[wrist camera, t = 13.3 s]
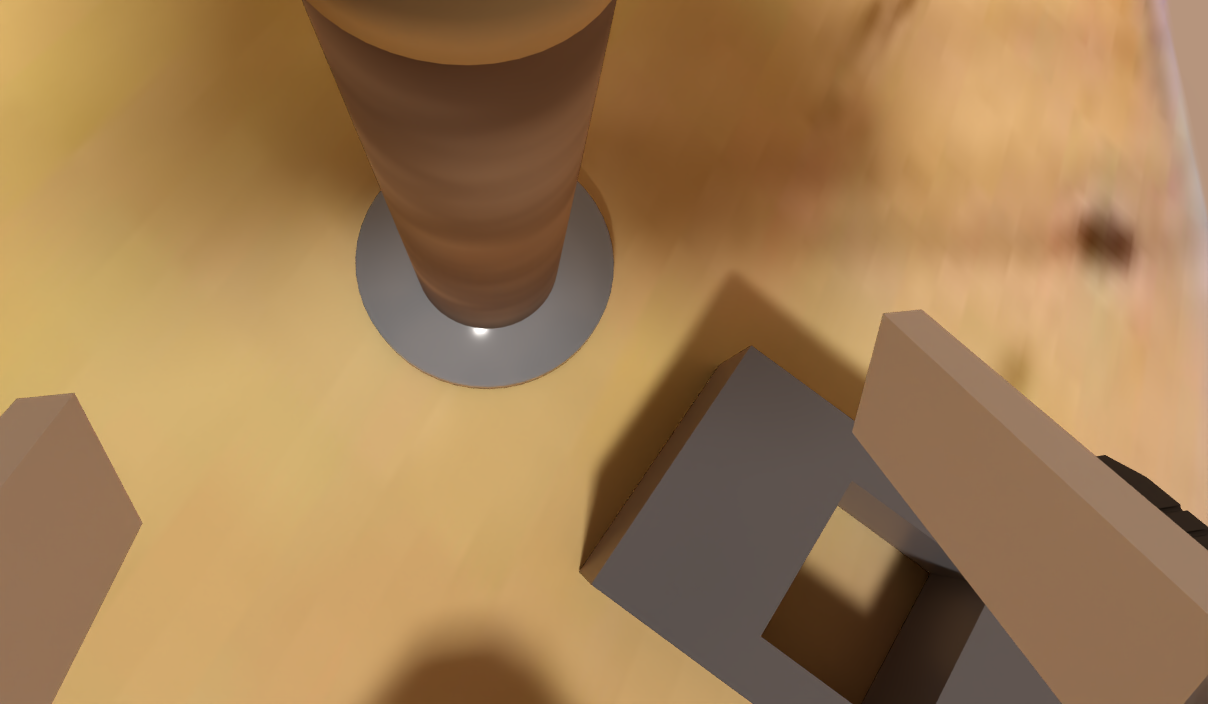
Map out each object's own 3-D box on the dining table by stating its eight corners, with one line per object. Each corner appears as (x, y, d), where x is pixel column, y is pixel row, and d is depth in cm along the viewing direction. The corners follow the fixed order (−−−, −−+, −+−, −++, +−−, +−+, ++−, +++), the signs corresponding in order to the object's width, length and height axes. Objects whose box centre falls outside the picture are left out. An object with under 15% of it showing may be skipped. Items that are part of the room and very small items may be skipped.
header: (578, 571, 21) (591, 584, 18) (719, 364, 23) (751, 345, 20) (953, 847, 20) (1027, 906, 18) (1061, 615, 22) (1143, 633, 20)
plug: (382, 280, 21) (137, -139, 7) (466, 166, 22) (396, -384, 8) (510, 360, 21) (512, 96, 7) (587, 242, 22) (719, -181, 8)
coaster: (306, 287, 21) (298, 280, 20) (466, 110, 23) (465, 97, 22) (512, 440, 21) (513, 437, 20) (656, 249, 23) (661, 240, 22)
